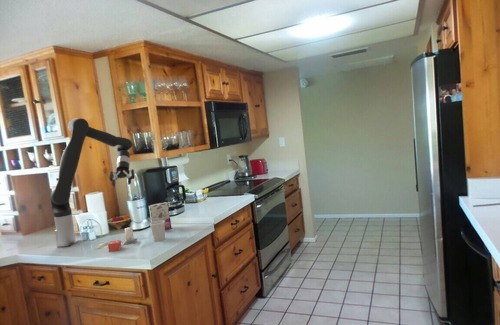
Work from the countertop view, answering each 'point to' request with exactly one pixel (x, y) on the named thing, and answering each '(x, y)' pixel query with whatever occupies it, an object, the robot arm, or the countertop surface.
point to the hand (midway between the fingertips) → (121, 184)
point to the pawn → (129, 235)
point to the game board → (105, 245)
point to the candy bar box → (160, 213)
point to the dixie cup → (158, 230)
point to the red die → (114, 245)
